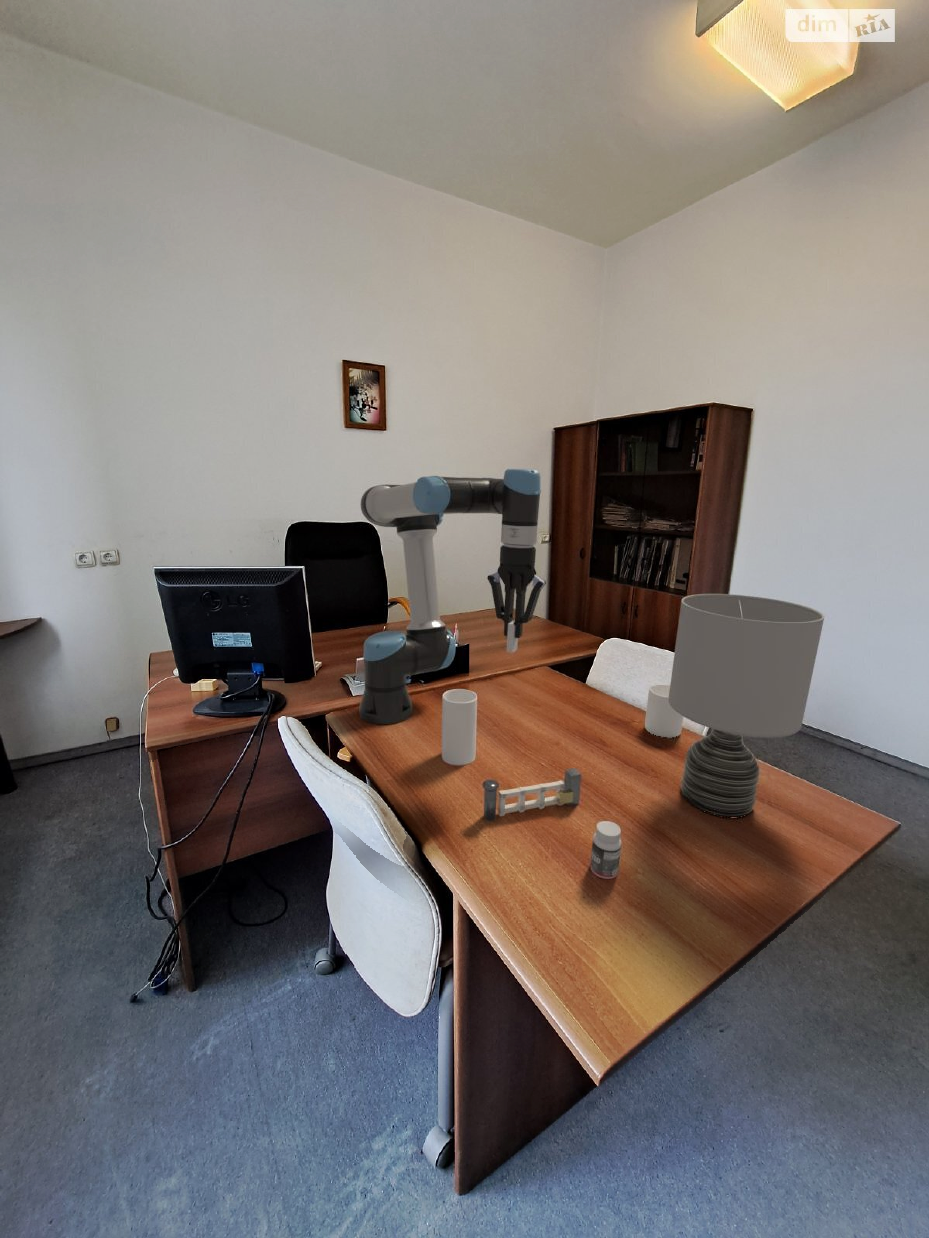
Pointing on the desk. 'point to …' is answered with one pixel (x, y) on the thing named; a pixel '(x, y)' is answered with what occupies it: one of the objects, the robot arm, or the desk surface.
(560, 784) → the gate
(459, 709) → the cup
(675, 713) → the mug
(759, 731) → the lamp
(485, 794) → the hinge post
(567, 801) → the grey upright block
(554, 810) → the desk surface
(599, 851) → the pill bottle
